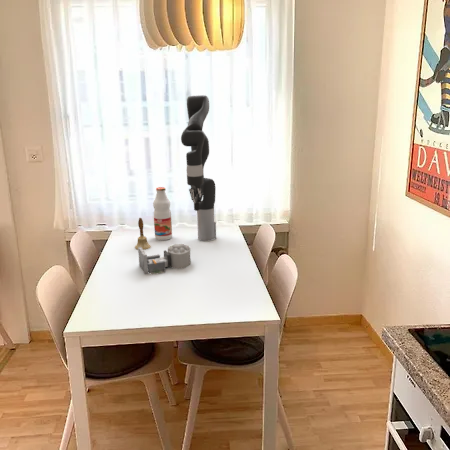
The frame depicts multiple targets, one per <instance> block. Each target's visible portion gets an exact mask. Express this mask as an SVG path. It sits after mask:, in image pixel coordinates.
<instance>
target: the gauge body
mask: <svg viewBox="0 0 450 450" xmlns="http://www.w3.org/2000/svg"><path fill="white" fill-rule="evenodd" d="M137 251H138V263H139V264H138V265H139V267H140V269H141V271H142V272H143V274H144V275H149V274H150V273H151V274H152V275H157V273H158V274H163V273H164V274H165V273H166V267H165V262H164V261H159V262H156V264H154V262H152V263H147V259H154V258H161V255H160V254H155V255H148V254H147V253H146V252H145V250H143V249H142V247H138V250H137ZM151 274H150V275H151Z"/></svg>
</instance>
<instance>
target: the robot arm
mask: <svg viewBox="0 0 450 450" xmlns="http://www.w3.org/2000/svg"><path fill="white" fill-rule="evenodd" d="M209 99H210V98H209V97H208V96H207V95H206V94H205V95H204V94H203V95H199V94H198V95H189V96H187V98H186V108H187V109H186V110H187V117H188V122H187V126H186V127H185V129H184V130H183V131H182V133H181V136H180V142H181V144H182V145H183V146H184V147H190V149H191V151H188V152H186V156H185V157H186V183H187V185H188V186H190V188H189V189H188V192H189V195H190V197H191V198H190V199H191V200H192V203H193V208H194V209H193V210H194V211H196V220H197V221H196V222H197V240H198V241H204V242H205V241H206V242H210V241H213V240H215V239H217V222H216V221H215V203H216V184H215V181H214V180H213V178H207V177H205V176H204V167H205V165H206V164H205V163H206V162H207V160H208V157H209V156H210V142H209V141H210V140H209V137H208V136H207V135H206V134H205V132H204V131H203V127H204V122H205V120H206V119H207V116H208V114H209V113H210V100H209Z"/></svg>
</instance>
